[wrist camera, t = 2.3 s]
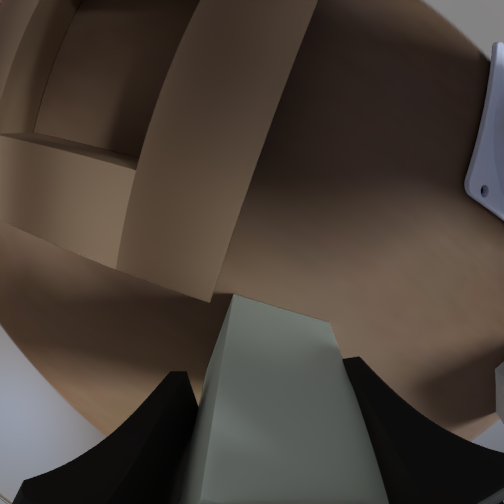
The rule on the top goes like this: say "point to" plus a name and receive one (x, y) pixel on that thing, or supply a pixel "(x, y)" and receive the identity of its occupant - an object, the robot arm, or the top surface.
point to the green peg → (279, 417)
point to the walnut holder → (149, 142)
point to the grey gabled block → (500, 390)
